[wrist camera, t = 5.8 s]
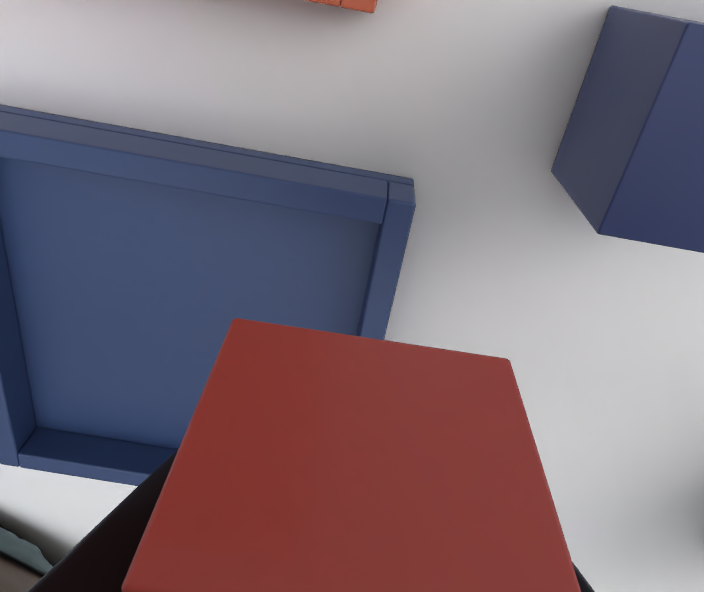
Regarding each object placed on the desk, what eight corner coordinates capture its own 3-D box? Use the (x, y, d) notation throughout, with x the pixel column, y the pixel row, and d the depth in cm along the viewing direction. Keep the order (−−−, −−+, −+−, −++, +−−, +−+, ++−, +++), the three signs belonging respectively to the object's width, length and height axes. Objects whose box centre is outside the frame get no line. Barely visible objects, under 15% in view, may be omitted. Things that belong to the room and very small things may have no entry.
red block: (511, 356, 9) (604, 654, 5) (445, 531, 11) (477, 825, 8) (232, 314, 9) (116, 590, 5) (224, 500, 11) (141, 785, 7)
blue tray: (414, 178, 17) (416, 203, 15) (345, 477, 24) (341, 519, 22) (-34, 98, 17) (-85, 114, 15) (28, 426, 24) (-1, 464, 22)
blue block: (777, 37, 15) (915, 64, 11) (695, 197, 17) (784, 267, 13) (610, 4, 15) (689, 21, 11) (550, 171, 17) (597, 234, 13)
